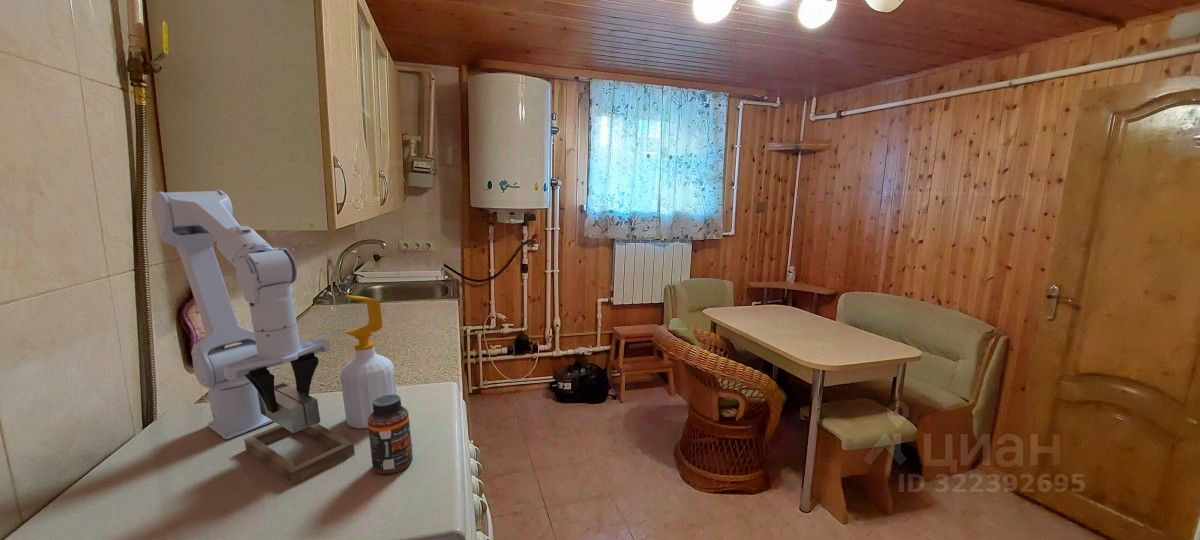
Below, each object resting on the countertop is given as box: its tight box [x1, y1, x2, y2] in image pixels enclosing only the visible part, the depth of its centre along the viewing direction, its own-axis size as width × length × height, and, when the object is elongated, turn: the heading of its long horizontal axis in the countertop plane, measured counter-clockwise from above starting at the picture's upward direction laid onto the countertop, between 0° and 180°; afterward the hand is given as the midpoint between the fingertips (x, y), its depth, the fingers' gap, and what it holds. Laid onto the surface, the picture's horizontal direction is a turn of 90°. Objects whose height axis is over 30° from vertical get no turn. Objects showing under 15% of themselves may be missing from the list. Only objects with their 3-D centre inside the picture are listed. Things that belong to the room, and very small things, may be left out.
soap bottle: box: [339, 294, 398, 429], centre depth 87 cm, size 9×9×25 cm
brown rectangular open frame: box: [243, 423, 356, 486], centre depth 78 cm, size 17×9×2 cm, turn 56°
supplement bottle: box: [367, 394, 413, 475], centre depth 73 cm, size 6×6×11 cm
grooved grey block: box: [257, 382, 321, 434], centre depth 76 cm, size 12×4×4 cm, turn 56°
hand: (288, 404), depth 76 cm, fingers closed on grooved grey block, 4 cm apart
